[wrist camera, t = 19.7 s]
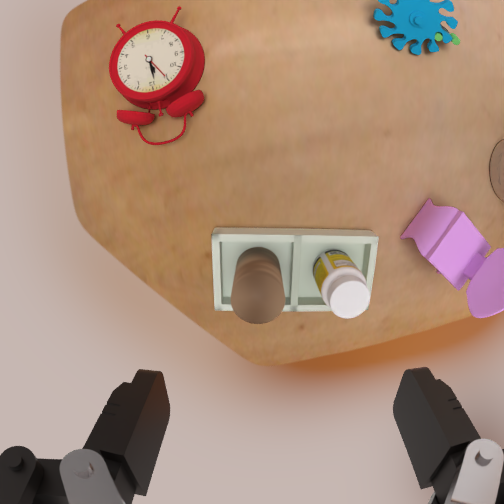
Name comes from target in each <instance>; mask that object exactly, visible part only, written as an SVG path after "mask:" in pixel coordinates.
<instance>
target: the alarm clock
mask: <svg viewBox="0 0 504 504" xmlns="http://www.w3.org/2000/svg"><path fill="white" fill-rule="evenodd" d="M177 9H178V10H177V11H176V13H175V15H174V16H173V18H172V20H171V22H167V21H149V22H145V23H142V24H139V25H137V26H135V27H134V28H132V29H130V30H129V31H128V32H125V31H124V30H123V29H122V28H121V27H120V24H117V25H116V27H119V29H120V30H121V31H122V33H123V34H124V35H123V36H122V37H121V38H120V40H119V41H118V42H117V44H116V45H115V47H114V49H113V51H112V54H111V57H110V62H109V73H110V77H111V80H112V82H113V84H114V86H115V87H116V89H117V90H118V91H119V92H120V93H121V94H122V95H123V96H124V97H125V98H126V99H127V100H128V101H129V102H130V103H132V104H134V105H136V106H138V107H141V108H145V109H149V112H148V113H144V112H136V111H126V110H117V118H118V120H119V121H121V122H123V123H127V124H132V128H131V130H134V126H135V127H137V129H138V133H139V135H140V137H141V138H142V140H143V141H144V142H146V143H148V144H151V145H161V144H167V143H170V142H173V141H175V140H177V139H178V138H180V137H181V136H182V135H183V133H184V132H185V129H186V115H187V114H188V113H189V114H190V116H191V117H192V116H193V113H192V111H194V110H195V109H197V108H198V107H199V106H200V105H201V104H202V103H203V101H204V95H203V93H202V91H201V90H196V91H193V90H194V89H195V87H196V86H197V84H198V83H199V81H200V79H201V76H202V74H203V70H204V63H205V59H204V52H203V49H202V46H201V44H200V42H199V41H198V39H197V38H196V37H195V36H194V35H193V34H192V33H191V32H189V31H188V30H186V29H184V28H182V27H179V26H178V25H176V24H174V23H173V22H174V20H175V18H176V16H177V14H178V12H179V10H181V7H177ZM192 91H193V92H192ZM163 108H166V111H167V113H168V114H169V115H170V116H171V117H175V118H176V117H181V116H184V126H183V130H182V132H181V133H180V135H179V136H177V137H176V138H174V139H171V140H169V141H165V142H158V143H154V142H149V141H147V140H146V139H145V138H144V137H143V136H142V134H141V131H140V129H139V126H138V125H147V124H150V123H151V122H152V121H153V120H154V117H155V114H151V113H150V109H154V110H156V109H159V111H160V114H159V116H163V113H162V111H161V109H163Z"/></svg>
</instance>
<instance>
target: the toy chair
mask: <svg viewBox="0 0 504 504" xmlns="http://www.w3.org/2000/svg"><path fill="white" fill-rule="evenodd" d="M400 238H401V239H404V238H413V239H414V240H415V242H416V244H417V247H418V250H419V251H420V253H421V254H422V255H423V256H424V257H425V258H426V259H427V260H428V261H429V262H430V263H431V264H432V265H433V266H434V267H435V268H436V269H437V270H438V271H437V273H438V274H440V273H441V274H442V275H443V276H444V277H445V278H446V279H447V280H448V281H449V282H450V283H451V284H452V285H453V286H454V287H455V288H456V289H457V290H458V291H459V290H460V289H461V287H462V286H463V285H464V284H465V282H466V281H467V279H470V280H471V281H470V284H469V286H468V288H467V291H466V293H467V299H468V306H469V310H470V312H471V314H472V315H473V316H474V317H477V318H484V317H488V316H491V315H494V314H497V313H499V312H501V311H503V310H504V248H497V249H496V250H495V251H494V252H493V253H492V254H490V255H489V256H488V257H487V258H485V257H484V256H485V255H486V253H487V252H488V251H489V249H490V248H491V246H490V245H489V244H488V242H487V241H486V240H485V239H484V237H483V236H482V235H481V234H480V232H479V231H478V230H477V229H476V227H475V226H474V225H473V224H472V222H471V221H470V220H469V218H468V217H467V216H466V215H465V214H464V212H462V211H459V210H458V209H457V208H455V207H450V206H443V207H442V206H435V205H433V203H432V201H431V199H430V198H429V199H428V200H427V202H426V203H425V204H424V206H423V207H422V209H421V210H420V211H419V213H418V214H417V215H416V217H415V218H414V219H413V221H412V222H411V223H410V225H409V226H408V227H407V229H406V230H405V231H404V233H403V234H402V235H401V237H400Z"/></svg>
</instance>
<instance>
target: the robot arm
mask: <svg viewBox="0 0 504 504" xmlns="http://www.w3.org/2000/svg"><path fill="white" fill-rule="evenodd" d="M490 177H491V183H492V186H493V189H494V191H495V193H496V194H497V196H498V197H499V198H500V199H501V200H502V201H504V139H503V140H502V141H500V142H499V143H498V144H497V146H496V147H495V149H494V151H493V153H492V157H491V162H490ZM393 413H394V418H395V421H396V423H397V426H398V428H399V431H400V434H401V436H402V439H403V441H404V444H405V447H406V449H407V452H408V455H409V457H410V460H411V462H412V465H413V468H414V471H415V474H416V477H417V480H418V482H419V485H420V488H421V489H423V488H427V487H431V486H433V488H434V491H435V492H434V493H433V494H432V496H431V499H430V501H429V503H428V504H504V449H501V448H500V446H499V445H498V444H497V443H495V442H494V441H492V440H489V439H481V438H480V436H479V434H478V432H477V431H476V429H475V427H474V426H473V424H472V422H471V420H470V419H469V417H468V415H467V414H466V412H465V411H464V409H463V408H462V406H461V404H460V403H459V401H458V400H457V397H456V396H455V394H454V393H453V391H452V389H451V388H450V387H449V386H448V385H446V384H445V383H444V382H443V381H441V380H440V379H438V380H436V379H435V378H434V376H433V375H432V373H431V371H430V370H429V368H427V367H422V368H414V369H408V370H406V371H405V372H404V374H403V377H402V380H401V383H400V386H399V389H398V392H397V395H396V398H395V400H394V405H393ZM169 417H170V403H169V399H168V395H167V390H166V386H165V381H164V377H163V374H162V372H161V371H151V370H143V369H139V370H138V371H137V373H136V375H135V377H134V379H133V381H132V383H127V382H123V383H122V384H121V385H120V386H119V387H117V388H116V389H115V390H114V391H113V392H112V394H111V396H110V398H109V399H108V401H107V405H105V407H104V409H103V411H102V414H100V416H99V418H98V420H97V422H96V424H95V426H94V428H93V430H92V432H91V434H90V436H89V438H88V440H87V441H86V443H85V445H84V447H83V448H82V449H78V450H74V451H72V452H70V453H68V454H67V455H66V456H65V457H64V458H63V459H60V460H58V459H37V458H36V457H35V456H34V454H33V453H32V452H31V451H30V450H29V449H28V448H25V447H22V446H14V447H10V448H8V449H6V450H5V451H4V452H3V453H2V454H1V455H0V504H132V500H133V497H134V494H138V495H143V496H146V494H147V490H148V487H149V484H150V480H151V477H152V474H153V470H154V467H155V464H156V460H157V457H158V454H159V451H160V447H161V444H162V441H163V438H164V434H165V431H166V428H167V425H168V421H169Z"/></svg>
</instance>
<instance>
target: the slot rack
mask: <svg viewBox="0 0 504 504" xmlns="http://www.w3.org/2000/svg"><path fill="white" fill-rule="evenodd" d="M378 238H379V237H378V236H377V235H376V234H375V233H374V232H372V231H371V230H350V229H306V228H221V227H215V229H214V230H213V232H212V261H213V284H214V305H215V310H222V311H233V309H232V306H231V292H232V286H233V281H234V275H235V269H236V264H237V260H238V258H239V256H240V255H241V254H242V253H243V252H244V251H246V250H247V249H250V248H253V247H263V248H267V249H269V250H271V251H272V252H273V253H274V254H275V255H276V256H277V258H278V260H279V263H280V268H281V274H282V281H283V287H284V293H285V305H284V308H283V310H282V311H332V310H331V308H330V307H328V306H327V305H326V304H325V302H324V301H323V299H322V296H321V294H320V291H319V289H318V286H317V284H316V282H315V279H314V276H313V272H312V268H313V264H314V261H315V260H316V258H317V257H318V256H319V255H320V254H321V253H323V252H324V251H326V250H330V249H338V250H341V251H343V252H345V253H346V254H347V255H348V256H349V257H350V259H351V260H352V261H353V262H354V264H355V265H356V266H357V267H358V269H359V270H360V271H361V273H362V274H363V275H364V277H365V280H366V284H367V288H368V289H369V292H370V296H371V289H372V283H373V276H374V270H375V262H376V255H377V247H378ZM369 302H370V301H369ZM368 307H369V304H368V306H367V308H366V309H365V310H368Z"/></svg>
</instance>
